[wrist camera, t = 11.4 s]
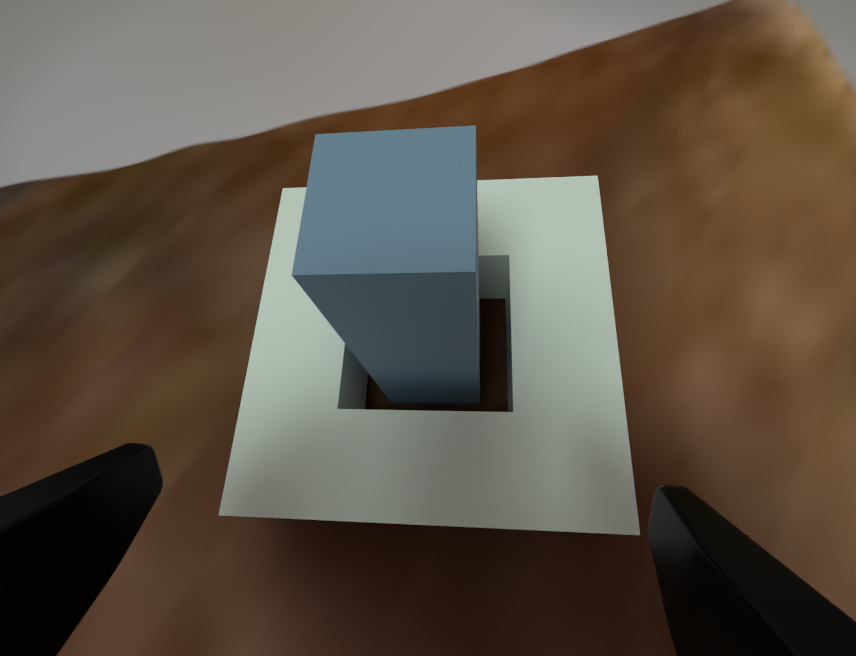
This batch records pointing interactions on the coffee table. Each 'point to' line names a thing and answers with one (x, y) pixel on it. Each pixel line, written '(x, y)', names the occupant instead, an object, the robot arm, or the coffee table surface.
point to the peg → (398, 256)
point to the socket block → (450, 430)
